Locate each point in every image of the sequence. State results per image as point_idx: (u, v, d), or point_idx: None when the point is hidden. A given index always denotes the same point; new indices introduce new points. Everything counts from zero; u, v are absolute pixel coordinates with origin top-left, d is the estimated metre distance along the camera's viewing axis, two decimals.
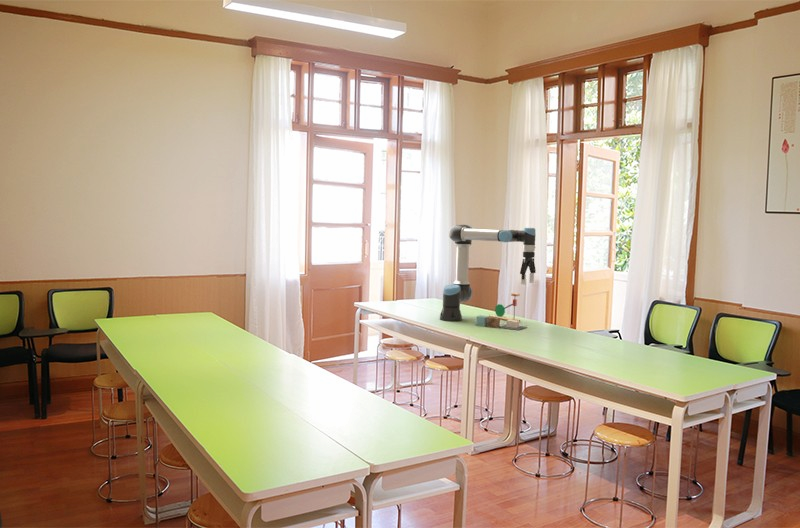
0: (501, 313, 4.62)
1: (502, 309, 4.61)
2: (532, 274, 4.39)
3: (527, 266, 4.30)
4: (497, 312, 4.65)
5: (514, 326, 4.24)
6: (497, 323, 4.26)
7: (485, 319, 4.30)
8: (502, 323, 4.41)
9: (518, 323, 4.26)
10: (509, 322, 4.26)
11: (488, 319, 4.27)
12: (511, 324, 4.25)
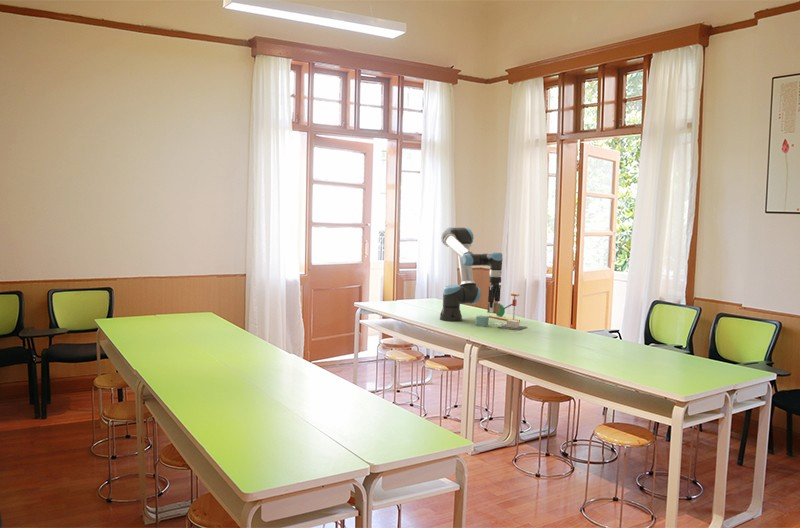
0: (501, 313, 4.62)
1: (502, 309, 4.61)
2: (496, 302, 4.30)
3: (494, 293, 4.24)
4: None
5: (514, 326, 4.24)
6: (497, 309, 4.26)
7: (485, 319, 4.30)
8: (502, 323, 4.41)
9: (518, 323, 4.26)
10: (509, 322, 4.26)
11: (488, 305, 4.27)
12: (511, 324, 4.25)
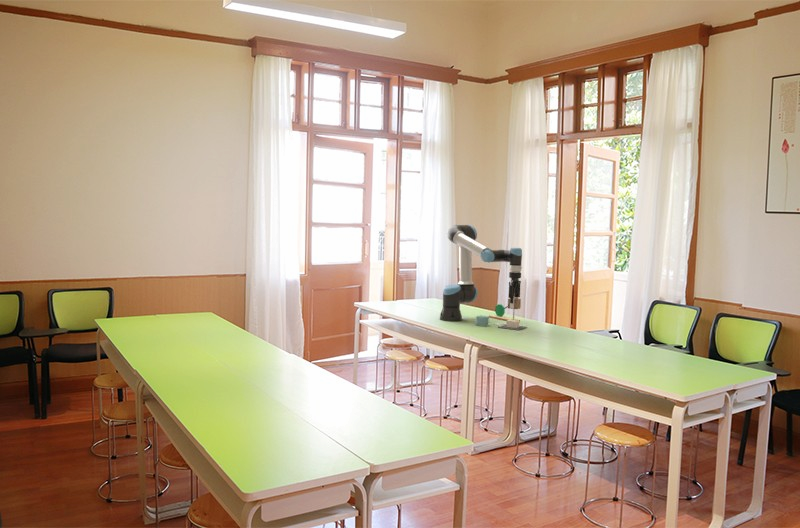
0: (501, 313, 4.62)
1: (502, 309, 4.61)
2: (516, 298, 4.28)
3: (514, 288, 4.23)
4: (497, 312, 4.65)
5: (514, 326, 4.24)
6: (518, 304, 4.24)
7: (485, 319, 4.30)
8: (502, 323, 4.41)
9: (518, 323, 4.26)
10: (509, 322, 4.26)
11: (509, 300, 4.25)
12: (511, 324, 4.25)
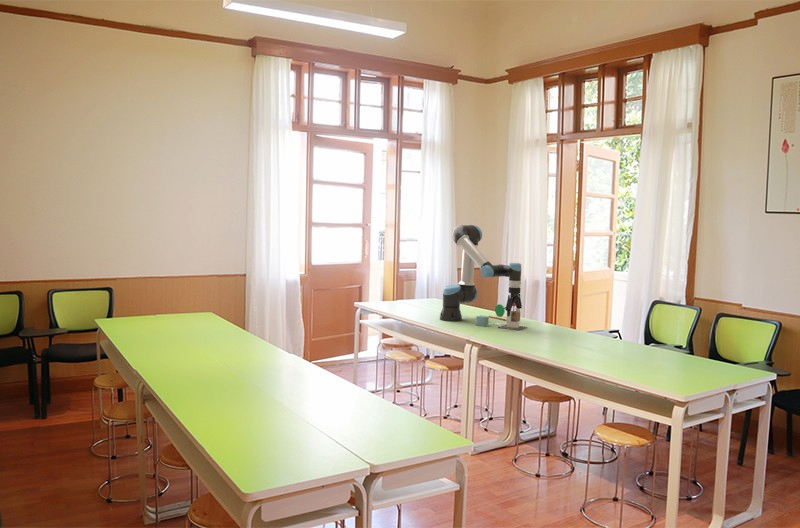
0: (501, 313, 4.61)
1: (502, 309, 4.61)
2: (518, 310, 4.32)
3: (513, 302, 4.22)
4: (497, 312, 4.64)
5: (514, 326, 4.24)
6: (517, 317, 4.24)
7: (485, 319, 4.30)
8: (502, 323, 4.41)
9: (518, 323, 4.26)
10: (509, 322, 4.26)
11: None
12: (511, 324, 4.25)
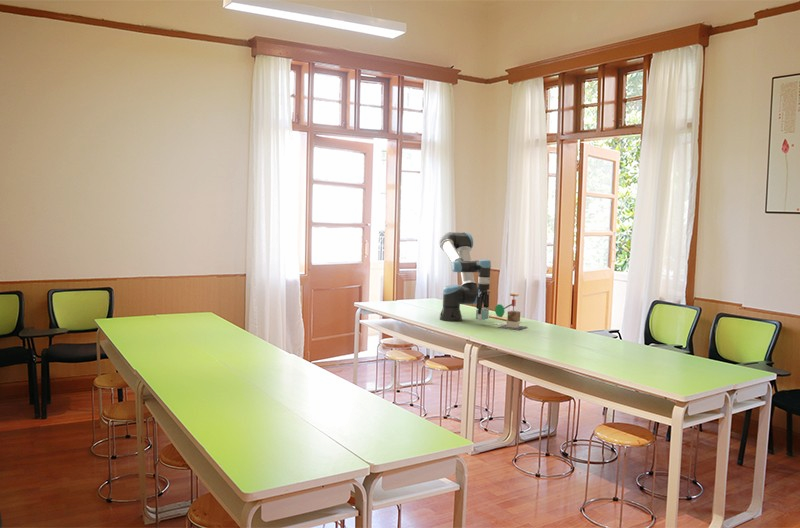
0: (501, 313, 4.61)
1: (502, 309, 4.60)
2: None
3: (482, 299, 4.29)
4: (497, 312, 4.64)
5: (514, 326, 4.24)
6: (517, 317, 4.24)
7: (485, 312, 4.30)
8: (502, 323, 4.41)
9: (518, 323, 4.26)
10: (509, 322, 4.26)
11: (508, 313, 4.26)
12: (511, 324, 4.25)
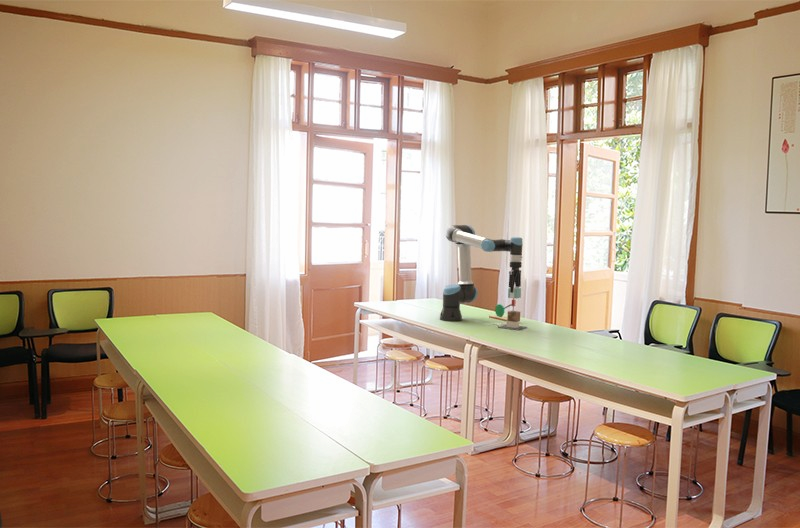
0: (501, 313, 4.61)
1: (502, 309, 4.60)
2: None
3: (515, 278, 4.22)
4: (497, 312, 4.64)
5: (514, 326, 4.24)
6: (517, 317, 4.24)
7: (517, 291, 4.23)
8: (502, 323, 4.41)
9: (518, 323, 4.26)
10: (509, 322, 4.26)
11: (508, 313, 4.26)
12: (511, 324, 4.25)
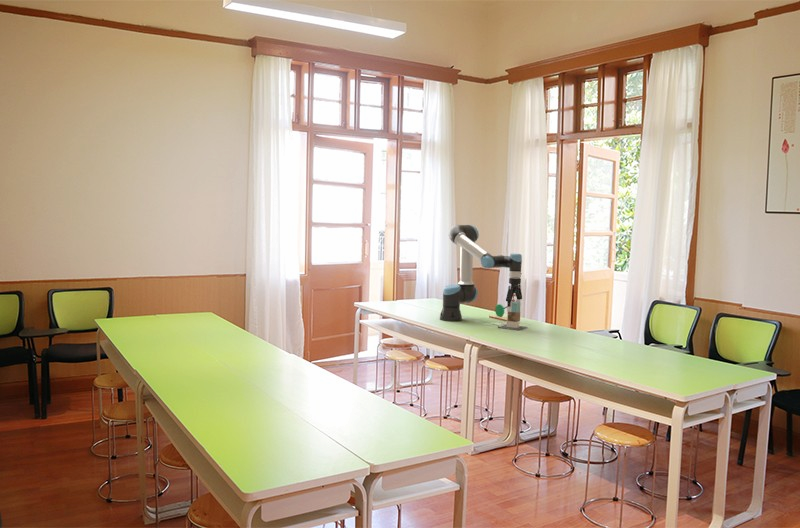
0: (501, 313, 4.61)
1: (502, 309, 4.60)
2: (518, 300, 4.31)
3: (513, 293, 4.22)
4: (497, 312, 4.64)
5: (514, 326, 4.24)
6: (517, 317, 4.24)
7: (517, 305, 4.23)
8: (502, 323, 4.41)
9: (518, 323, 4.26)
10: (509, 322, 4.26)
11: (508, 313, 4.26)
12: (511, 324, 4.25)
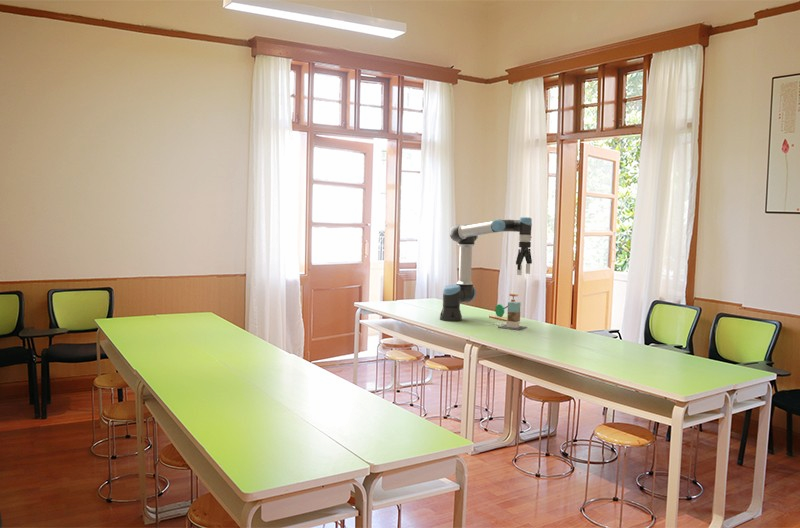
0: (501, 313, 4.61)
1: (501, 309, 4.60)
2: (528, 265, 4.30)
3: (523, 256, 4.21)
4: (497, 312, 4.64)
5: (514, 326, 4.24)
6: (517, 317, 4.24)
7: (517, 305, 4.23)
8: (502, 323, 4.41)
9: (518, 323, 4.26)
10: (509, 322, 4.26)
11: (508, 313, 4.26)
12: (511, 324, 4.25)
